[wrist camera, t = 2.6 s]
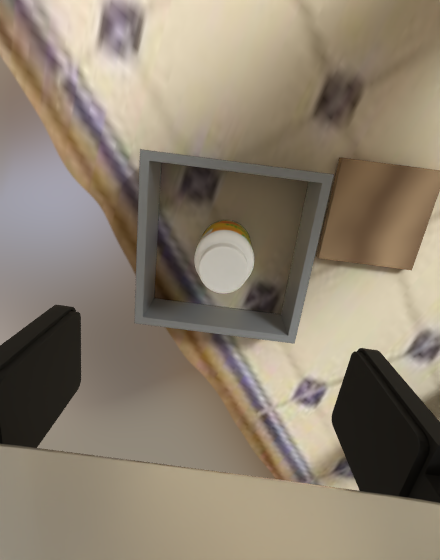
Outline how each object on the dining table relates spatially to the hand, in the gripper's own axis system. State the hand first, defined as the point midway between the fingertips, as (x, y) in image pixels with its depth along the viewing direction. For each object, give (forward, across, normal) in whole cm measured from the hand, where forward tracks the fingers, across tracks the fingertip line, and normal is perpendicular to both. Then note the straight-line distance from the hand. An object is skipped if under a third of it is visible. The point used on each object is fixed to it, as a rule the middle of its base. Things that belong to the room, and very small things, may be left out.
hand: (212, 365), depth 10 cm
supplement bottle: (+24, 0, +1) cm, 24 cm away
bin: (+24, 0, +1) cm, 24 cm away
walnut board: (+24, -15, -4) cm, 29 cm away
